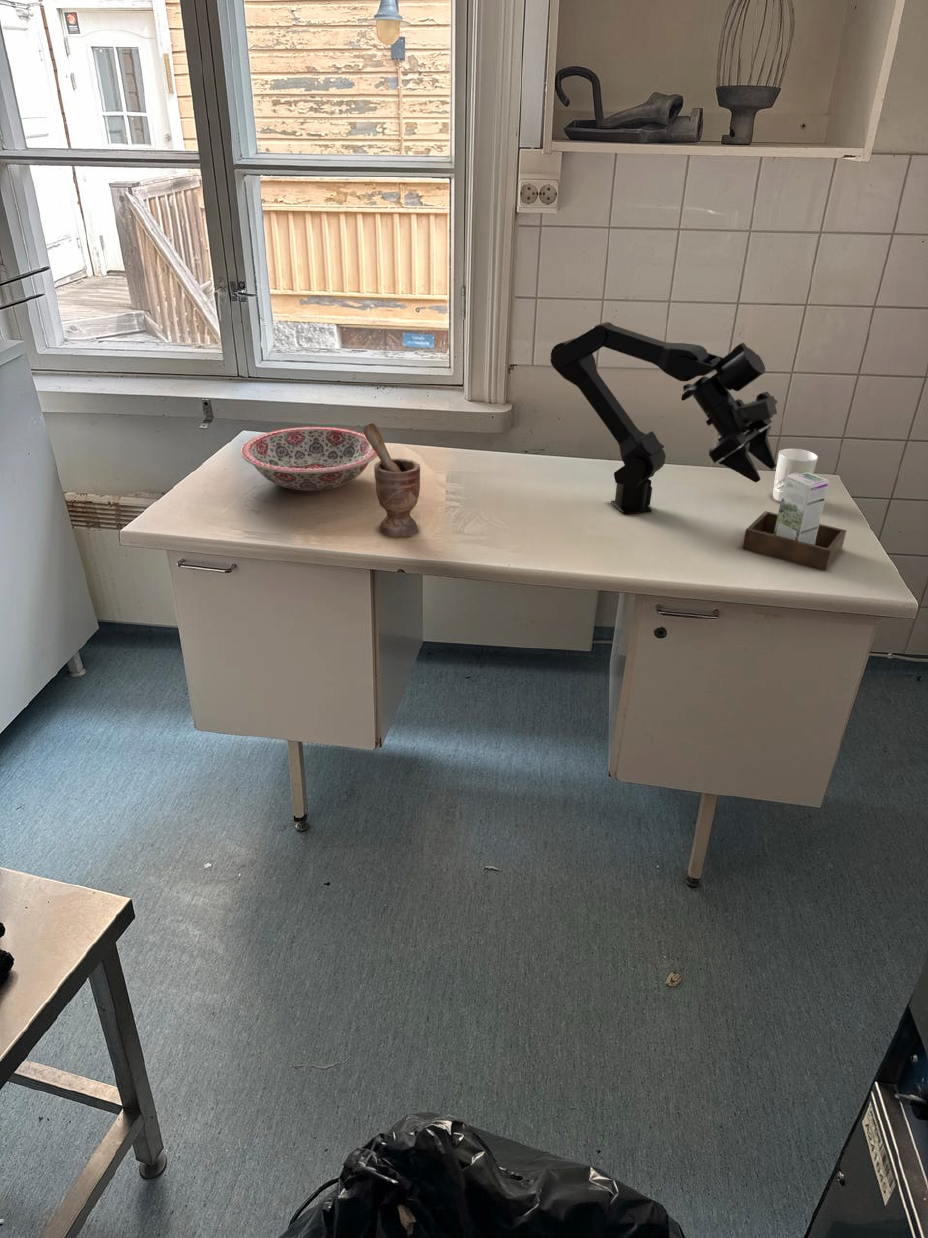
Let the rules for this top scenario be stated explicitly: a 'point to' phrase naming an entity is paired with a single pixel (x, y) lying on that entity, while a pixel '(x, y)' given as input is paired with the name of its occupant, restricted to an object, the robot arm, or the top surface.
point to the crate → (793, 543)
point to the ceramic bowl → (309, 456)
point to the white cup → (792, 467)
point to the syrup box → (801, 507)
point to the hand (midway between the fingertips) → (766, 474)
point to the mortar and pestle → (394, 487)
